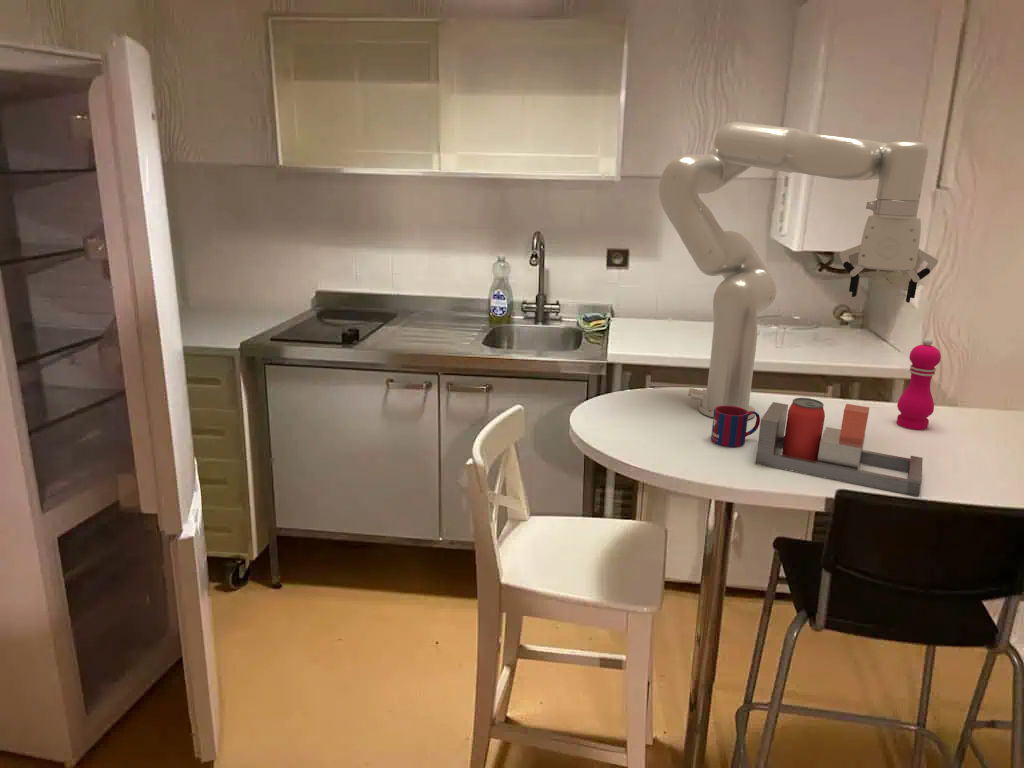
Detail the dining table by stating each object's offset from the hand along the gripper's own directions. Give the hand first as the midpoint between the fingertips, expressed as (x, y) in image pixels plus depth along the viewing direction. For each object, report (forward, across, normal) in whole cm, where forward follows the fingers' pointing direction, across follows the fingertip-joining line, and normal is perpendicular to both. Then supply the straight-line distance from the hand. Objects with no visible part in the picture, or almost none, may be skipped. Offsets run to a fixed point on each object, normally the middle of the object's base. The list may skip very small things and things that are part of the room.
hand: (880, 298), depth 151 cm
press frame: (+30, -2, -17) cm, 35 cm away
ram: (+30, -2, -17) cm, 35 cm away
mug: (+31, -22, -13) cm, 40 cm away
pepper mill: (+31, +10, +19) cm, 37 cm away
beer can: (+31, -9, -17) cm, 36 cm away
